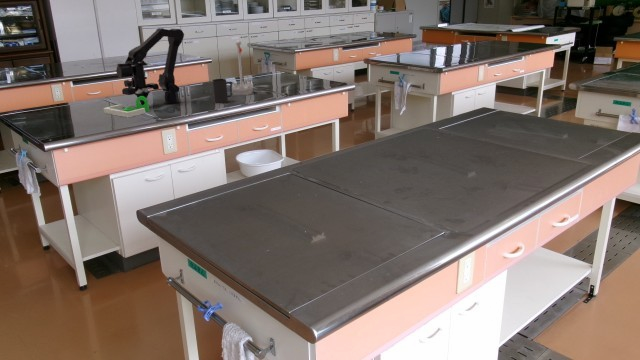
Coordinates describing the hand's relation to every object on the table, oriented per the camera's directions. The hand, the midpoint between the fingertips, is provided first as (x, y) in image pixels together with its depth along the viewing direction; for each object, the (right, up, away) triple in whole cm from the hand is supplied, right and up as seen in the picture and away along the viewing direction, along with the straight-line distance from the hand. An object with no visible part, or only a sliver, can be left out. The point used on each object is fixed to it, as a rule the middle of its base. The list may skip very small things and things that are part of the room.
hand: (143, 105), depth 272 cm
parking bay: (-6, -5, -8) cm, 12 cm away
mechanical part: (-1, -4, -5) cm, 7 cm away
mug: (+40, +3, +10) cm, 42 cm away
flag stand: (+47, +11, +31) cm, 57 cm away
